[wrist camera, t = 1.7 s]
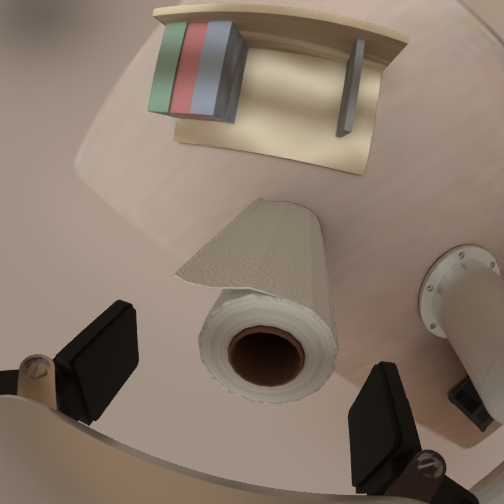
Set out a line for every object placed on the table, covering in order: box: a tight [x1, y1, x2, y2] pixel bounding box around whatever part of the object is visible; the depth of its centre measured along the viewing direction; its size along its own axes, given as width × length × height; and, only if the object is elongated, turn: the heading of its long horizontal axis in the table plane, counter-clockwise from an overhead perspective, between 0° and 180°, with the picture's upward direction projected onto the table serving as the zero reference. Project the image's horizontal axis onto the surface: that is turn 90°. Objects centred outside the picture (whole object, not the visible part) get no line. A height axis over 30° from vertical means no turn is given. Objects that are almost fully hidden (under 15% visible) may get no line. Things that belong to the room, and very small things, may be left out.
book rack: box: [148, 4, 409, 176], centre depth 23 cm, size 12×20×10 cm, turn 80°
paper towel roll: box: [173, 198, 338, 404], centre depth 21 cm, size 7×6×21 cm
